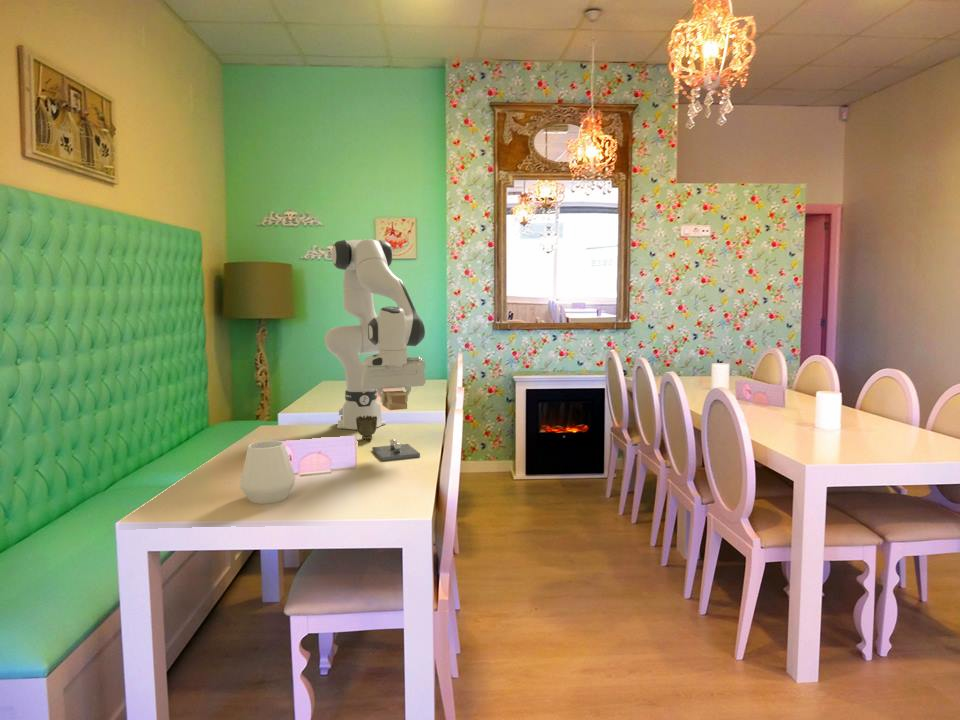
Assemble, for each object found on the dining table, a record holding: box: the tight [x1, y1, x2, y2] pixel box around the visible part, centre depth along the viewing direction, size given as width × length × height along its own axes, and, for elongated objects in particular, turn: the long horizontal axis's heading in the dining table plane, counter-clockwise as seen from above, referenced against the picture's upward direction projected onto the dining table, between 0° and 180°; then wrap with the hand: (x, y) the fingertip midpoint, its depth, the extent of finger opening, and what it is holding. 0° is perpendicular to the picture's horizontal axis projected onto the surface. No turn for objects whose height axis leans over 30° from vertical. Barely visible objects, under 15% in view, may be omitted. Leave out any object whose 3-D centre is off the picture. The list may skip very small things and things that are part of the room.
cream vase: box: [239, 439, 296, 505], centre depth 165 cm, size 13×13×14 cm
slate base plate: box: [371, 439, 421, 462], centre depth 208 cm, size 14×12×4 cm
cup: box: [356, 415, 377, 441], centre depth 229 cm, size 8×7×8 cm
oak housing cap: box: [381, 388, 408, 411], centre depth 206 cm, size 10×6×5 cm, turn 22°
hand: (394, 401), depth 207 cm, fingers closed on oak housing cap, 5 cm apart
